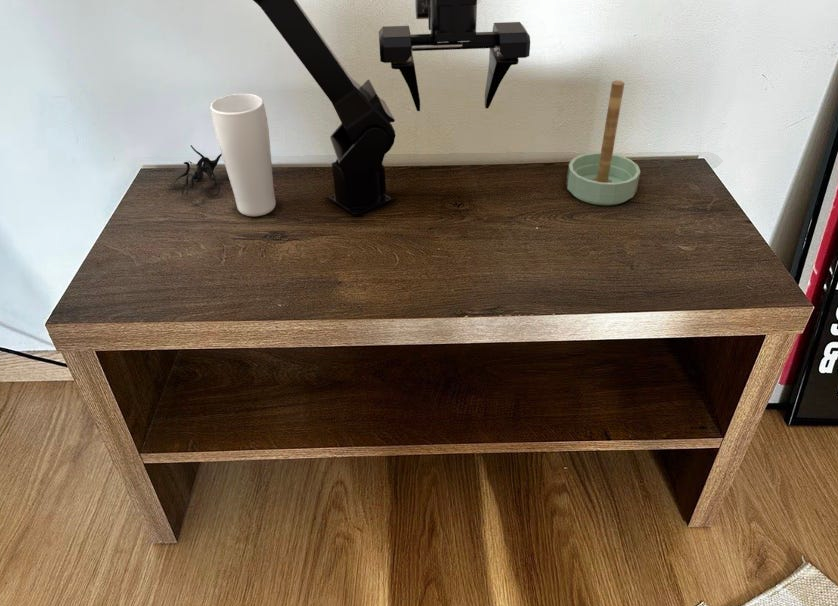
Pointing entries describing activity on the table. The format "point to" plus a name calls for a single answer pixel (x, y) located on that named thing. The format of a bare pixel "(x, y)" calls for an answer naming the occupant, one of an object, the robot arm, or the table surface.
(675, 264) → the table surface
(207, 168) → the creature
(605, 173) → the stick
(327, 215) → the table surface
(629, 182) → the bowl
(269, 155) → the drinking glass
